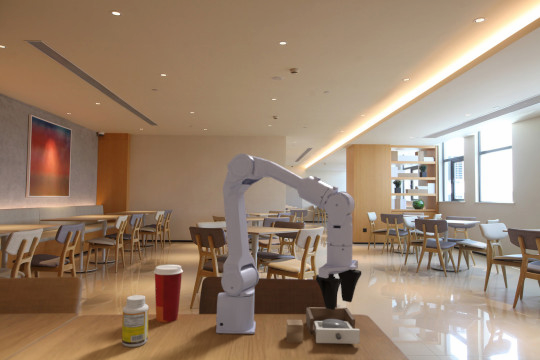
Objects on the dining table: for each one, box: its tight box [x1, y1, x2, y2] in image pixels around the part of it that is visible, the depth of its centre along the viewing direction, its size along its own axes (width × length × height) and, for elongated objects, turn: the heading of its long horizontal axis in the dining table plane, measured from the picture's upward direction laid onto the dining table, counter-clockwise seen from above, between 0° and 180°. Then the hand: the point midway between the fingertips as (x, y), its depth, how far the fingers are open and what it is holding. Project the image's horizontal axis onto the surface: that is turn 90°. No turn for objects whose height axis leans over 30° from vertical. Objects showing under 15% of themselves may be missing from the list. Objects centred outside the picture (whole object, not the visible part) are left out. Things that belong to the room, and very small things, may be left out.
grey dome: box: [322, 319, 346, 329], centre depth 90 cm, size 6×6×2 cm
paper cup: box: [153, 264, 184, 324], centre depth 101 cm, size 8×8×14 cm
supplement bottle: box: [121, 294, 149, 348], centre depth 85 cm, size 6×6×10 cm
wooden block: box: [286, 319, 304, 343], centre depth 88 cm, size 4×4×4 cm
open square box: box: [305, 306, 356, 336], centre depth 96 cm, size 11×9×4 cm
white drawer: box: [314, 321, 361, 345], centre depth 89 cm, size 10×10×3 cm
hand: (338, 304), depth 85 cm, fingers open, 7 cm apart
